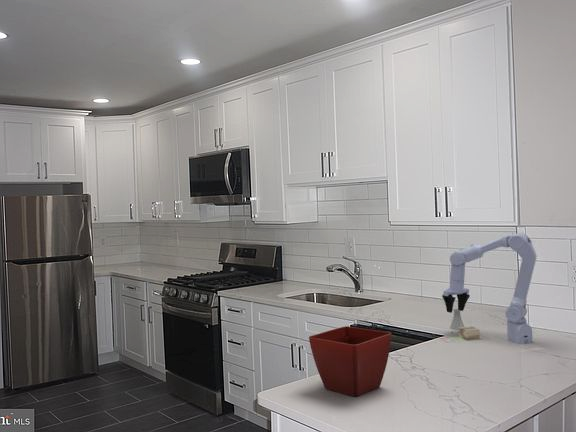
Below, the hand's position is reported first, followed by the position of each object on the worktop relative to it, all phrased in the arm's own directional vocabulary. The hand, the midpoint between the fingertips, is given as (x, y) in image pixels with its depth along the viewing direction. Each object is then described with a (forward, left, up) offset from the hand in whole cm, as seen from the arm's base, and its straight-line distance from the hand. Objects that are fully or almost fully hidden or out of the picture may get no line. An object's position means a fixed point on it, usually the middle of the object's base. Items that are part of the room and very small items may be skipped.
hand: (455, 311), depth 229 cm
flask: (+9, -6, -11) cm, 16 cm away
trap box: (-9, +1, -11) cm, 14 cm away
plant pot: (-49, +63, -11) cm, 80 cm away
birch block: (-9, -1, -10) cm, 13 cm away
